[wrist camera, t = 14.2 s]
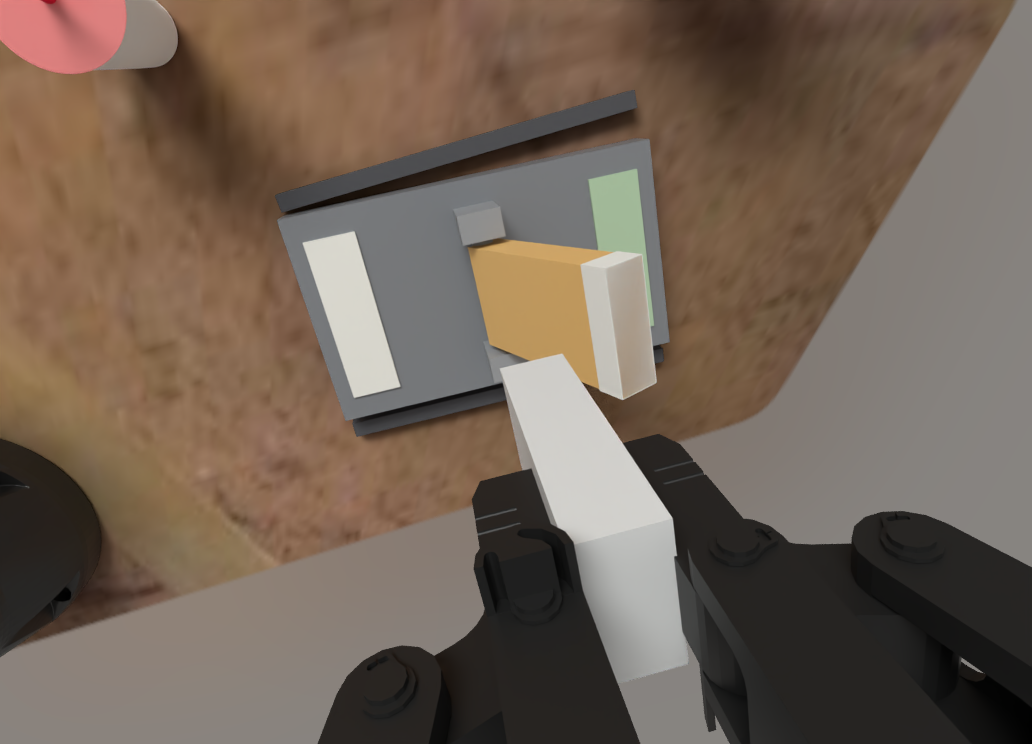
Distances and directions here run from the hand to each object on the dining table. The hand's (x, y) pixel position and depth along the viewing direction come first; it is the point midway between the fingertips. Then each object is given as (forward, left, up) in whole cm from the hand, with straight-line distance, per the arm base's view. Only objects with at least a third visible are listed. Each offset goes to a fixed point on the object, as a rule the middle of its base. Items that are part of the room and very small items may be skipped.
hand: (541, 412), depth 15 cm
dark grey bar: (+1, +5, -26) cm, 27 cm away
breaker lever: (+1, -3, -22) cm, 23 cm away
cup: (-14, +14, -27) cm, 33 cm away
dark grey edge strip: (+1, -11, -26) cm, 29 cm away
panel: (+1, -3, -26) cm, 27 cm away
